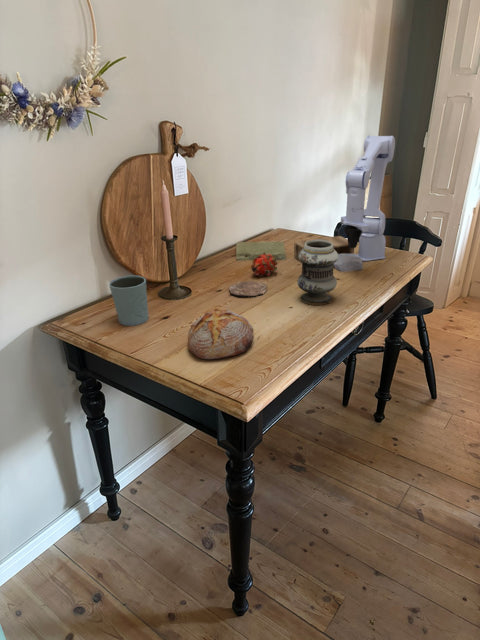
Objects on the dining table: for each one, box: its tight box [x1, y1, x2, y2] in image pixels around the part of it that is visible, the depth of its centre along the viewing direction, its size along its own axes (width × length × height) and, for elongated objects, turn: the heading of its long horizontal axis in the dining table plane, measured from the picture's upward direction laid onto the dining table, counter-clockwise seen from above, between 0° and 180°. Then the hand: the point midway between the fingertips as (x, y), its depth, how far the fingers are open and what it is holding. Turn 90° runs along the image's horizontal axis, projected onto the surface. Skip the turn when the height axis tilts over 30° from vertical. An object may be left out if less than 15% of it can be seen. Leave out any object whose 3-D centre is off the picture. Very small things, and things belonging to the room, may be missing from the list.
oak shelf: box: [293, 235, 355, 264], centre depth 182 cm, size 20×12×6 cm, turn 109°
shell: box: [228, 280, 268, 299], centre depth 155 cm, size 12×13×4 cm
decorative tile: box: [235, 241, 287, 262], centre depth 191 cm, size 19×20×4 cm
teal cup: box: [108, 275, 149, 327], centre depth 136 cm, size 10×10×12 cm
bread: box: [187, 309, 254, 360], centre depth 121 cm, size 16×20×10 cm
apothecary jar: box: [296, 239, 339, 306], centre depth 144 cm, size 12×12×18 cm
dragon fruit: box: [250, 253, 278, 277], centre depth 168 cm, size 8×8×12 cm
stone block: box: [333, 252, 364, 273], centre depth 175 cm, size 12×5×10 cm
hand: (352, 247), depth 162 cm, fingers closed
